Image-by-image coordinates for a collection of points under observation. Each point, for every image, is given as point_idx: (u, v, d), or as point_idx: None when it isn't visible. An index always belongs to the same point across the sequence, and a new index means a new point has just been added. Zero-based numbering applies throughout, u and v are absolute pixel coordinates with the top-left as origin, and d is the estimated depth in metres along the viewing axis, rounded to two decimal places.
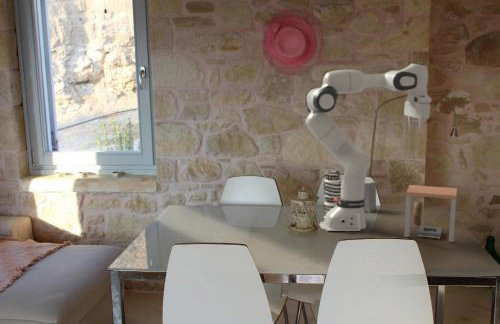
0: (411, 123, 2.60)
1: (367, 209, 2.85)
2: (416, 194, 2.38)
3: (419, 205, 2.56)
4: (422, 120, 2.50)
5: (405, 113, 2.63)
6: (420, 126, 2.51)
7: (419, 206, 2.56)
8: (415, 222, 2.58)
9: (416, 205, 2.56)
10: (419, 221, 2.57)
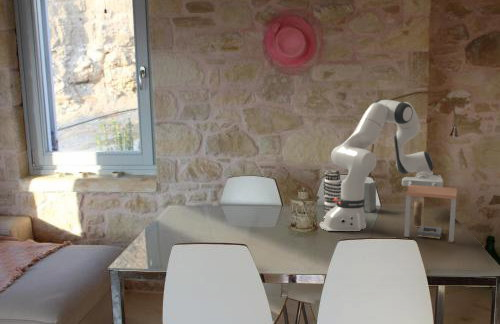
0: (413, 184, 2.70)
1: (367, 209, 2.85)
2: (416, 194, 2.38)
3: (419, 205, 2.56)
4: (435, 185, 2.68)
5: (406, 179, 2.75)
6: (432, 186, 2.66)
7: (419, 206, 2.56)
8: (415, 222, 2.58)
9: (416, 205, 2.56)
10: (419, 221, 2.57)
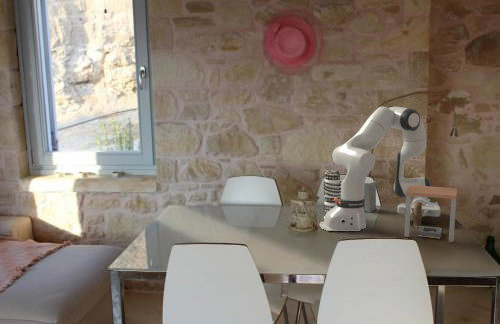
0: (413, 212, 2.59)
1: (367, 209, 2.85)
2: (416, 194, 2.38)
3: (419, 205, 2.56)
4: (427, 213, 2.60)
5: (401, 206, 2.66)
6: (424, 214, 2.57)
7: (419, 206, 2.56)
8: (415, 222, 2.58)
9: (416, 205, 2.56)
10: (419, 221, 2.57)
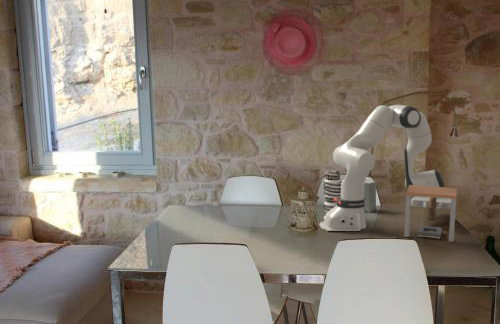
0: None
1: (367, 209, 2.85)
2: (416, 194, 2.38)
3: (434, 198, 2.54)
4: (441, 206, 2.57)
5: (415, 199, 2.63)
6: (439, 206, 2.55)
7: (434, 199, 2.54)
8: (429, 215, 2.56)
9: (431, 198, 2.54)
10: (434, 214, 2.55)
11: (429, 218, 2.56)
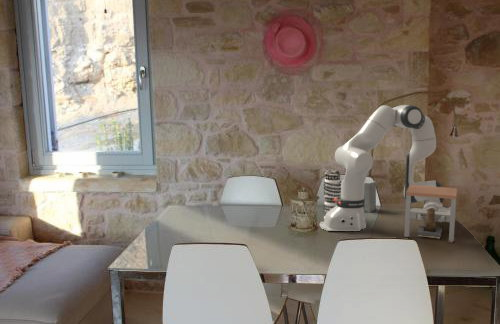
0: (422, 217, 2.47)
1: (367, 209, 2.85)
2: (416, 194, 2.38)
3: (432, 212, 2.43)
4: (444, 219, 2.46)
5: (413, 211, 2.53)
6: (441, 220, 2.44)
7: (432, 213, 2.43)
8: (428, 230, 2.45)
9: (429, 212, 2.44)
10: (432, 229, 2.45)
11: None
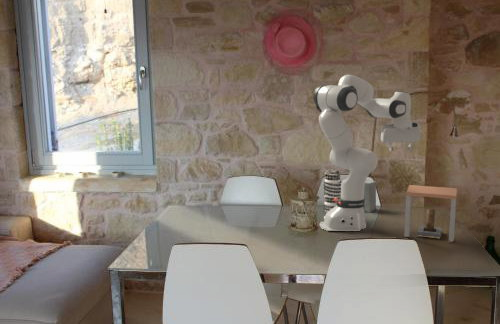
0: None
1: (367, 209, 2.85)
2: (416, 194, 2.38)
3: (432, 212, 2.43)
4: None
5: (386, 140, 2.70)
6: None
7: (432, 213, 2.43)
8: (428, 230, 2.45)
9: (429, 212, 2.44)
10: (432, 230, 2.45)
11: None
